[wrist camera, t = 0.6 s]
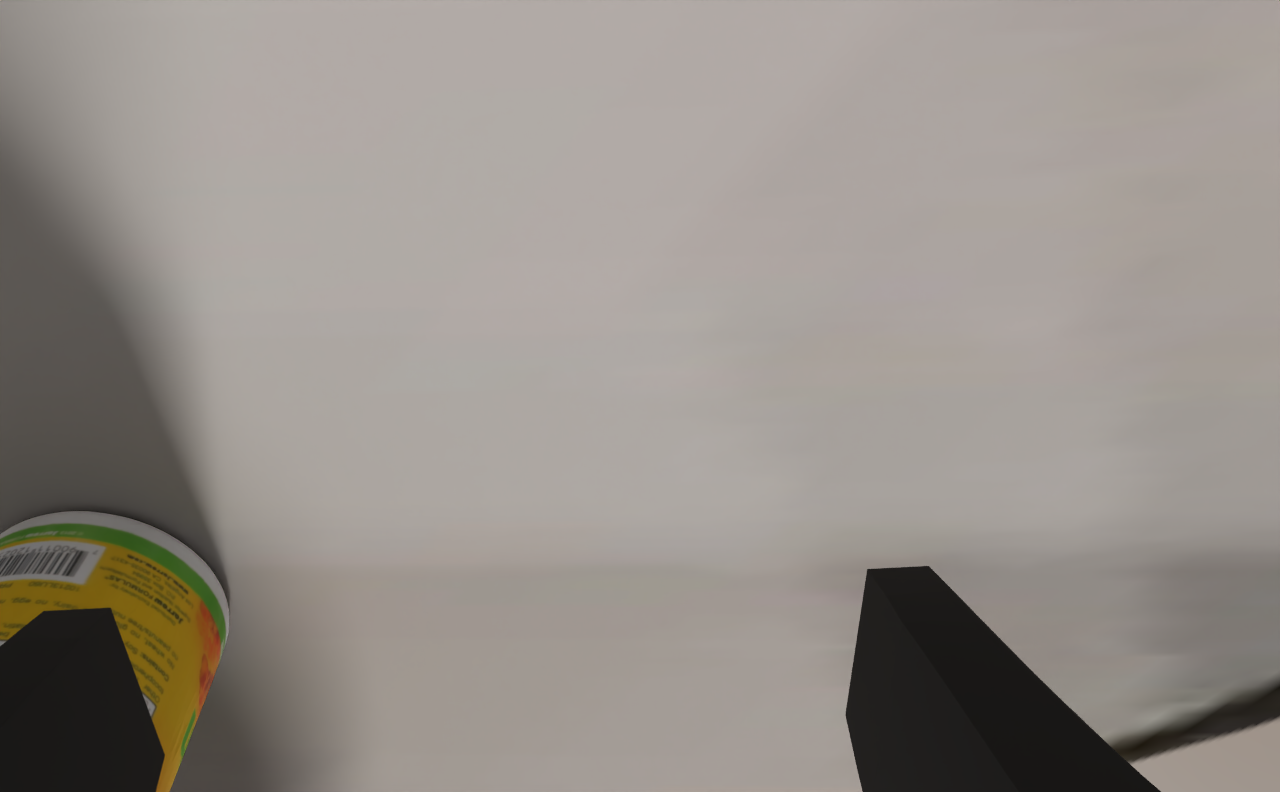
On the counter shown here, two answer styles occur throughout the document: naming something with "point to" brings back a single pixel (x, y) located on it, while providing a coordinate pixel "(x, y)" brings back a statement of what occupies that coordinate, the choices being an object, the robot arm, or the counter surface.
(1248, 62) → the counter surface
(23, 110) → the counter surface
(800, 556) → the counter surface
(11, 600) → the supplement bottle
